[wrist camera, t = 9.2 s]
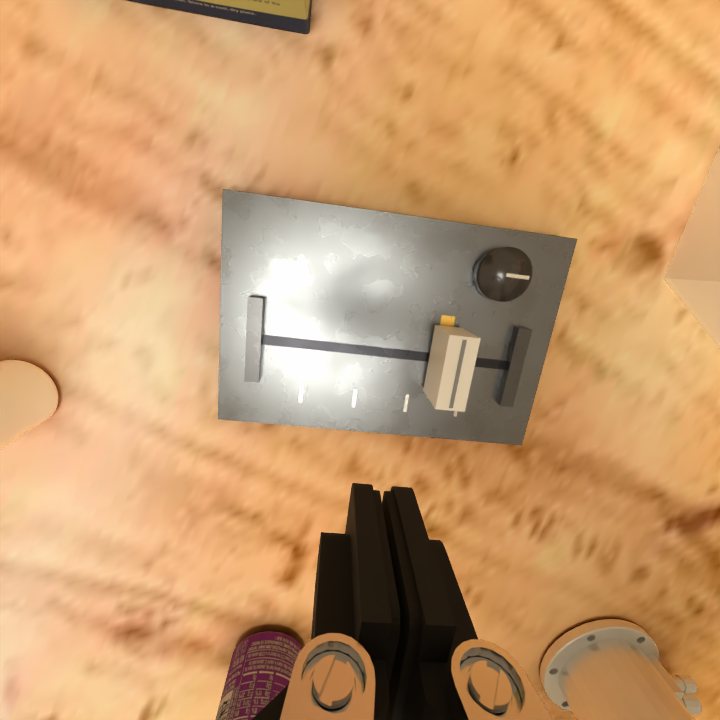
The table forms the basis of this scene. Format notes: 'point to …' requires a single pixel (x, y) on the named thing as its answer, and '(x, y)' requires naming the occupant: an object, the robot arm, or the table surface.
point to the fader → (450, 367)
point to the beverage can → (257, 674)
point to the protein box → (249, 11)
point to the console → (379, 317)
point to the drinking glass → (24, 399)
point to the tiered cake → (701, 257)
